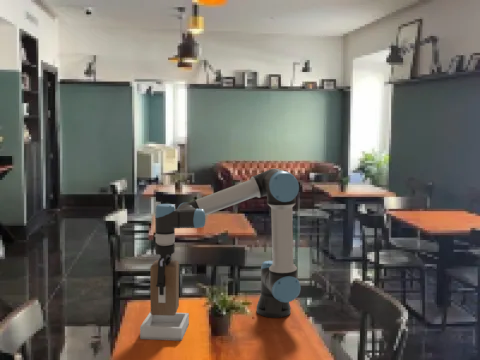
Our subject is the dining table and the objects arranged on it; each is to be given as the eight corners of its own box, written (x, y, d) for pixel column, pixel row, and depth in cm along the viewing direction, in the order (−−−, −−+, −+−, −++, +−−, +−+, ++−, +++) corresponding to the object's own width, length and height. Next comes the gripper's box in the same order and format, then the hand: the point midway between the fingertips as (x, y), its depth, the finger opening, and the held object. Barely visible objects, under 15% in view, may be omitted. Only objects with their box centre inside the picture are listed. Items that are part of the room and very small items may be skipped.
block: (175, 316, 211) (175, 266, 208) (150, 315, 211) (149, 266, 209) (179, 307, 221) (179, 259, 218) (154, 306, 221) (154, 259, 219)
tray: (188, 324, 224) (188, 313, 224) (181, 340, 208) (181, 328, 208) (150, 323, 226) (150, 311, 225) (140, 338, 210) (140, 326, 209)
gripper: (162, 236, 224) (162, 288, 227) (148, 250, 202) (148, 307, 204) (179, 237, 224) (179, 289, 226) (168, 250, 201) (168, 308, 204)
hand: (165, 297), depth 215 cm, fingers closed on block, 10 cm apart
